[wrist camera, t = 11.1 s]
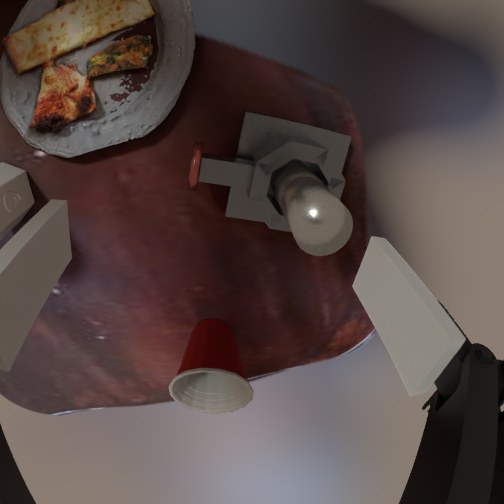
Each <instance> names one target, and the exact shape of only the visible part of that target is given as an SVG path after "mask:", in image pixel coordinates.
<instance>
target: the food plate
mask: <svg viewBox="0 0 504 504" xmlns="http://www.w3.org/2000/svg"><path fill="white" fill-rule="evenodd" d="M146 20H148V21H151V22H154V23H155V24H156V32H157V40H158V45H159V52H158V55H157V62H155V64H154V65H155V68H154V69H153V70H152V71H151V73H150V76H151V77H150V80H148V82H147V83H145V85H143V83H142V84H140V85H141V86H142V88H143V89H142V90H141V91H140V92H138V91H135V92H132V93H133V94H132V93H131V94H130V96H128V97H127V99H126V100H128V101H131V102H129V103H128V102H127V101H125V99H123V100H122V101H121V102H123V101H124V102H125V103H124V104H123V105H121V106H120V107H119V105H120V104H121V102H118V101H116V102H114V100H112V99H111V97H110V96H109V94H110V95H112V94H114V93H119V94H123V93H124V92H125V93H128V94H129V93H130V92H128V90H126V89H125V87H126V85H125V86H121V87H119V85H120V84H121V83H122V82H123V80H121V79H125V76H126V75H125V74H124V73H123V72H127V71H129V70H131V69H137V68H144V69H148V66H147V63H148V58H149V57H150V56H151V55H152V47H153V45H152V44H150V43H151V38H152V37H151V36H141V35H135V36H131V37H130V38H126V40H124V37H123V38H122V39H121V41H119V40H117V41H116V42H115V41H111V40H113V39H114V38H115V37H117V36H118V35H120V34H121V33H123V32H126V30H127V31H128V30H132V29H133V27H136V26H138V25H140V24H142V23H146ZM195 37H196V36H195V28H194V23H193V15H192V10H191V4H190V0H28V1H27V3H26V4H25V5H24V6H23V8H22V10H21V11H20V13H19V15H18V17H17V19H16V20H15V22H14V23H13V25H12V26H11V28H10V29H9V31H8V33H7V36H6V37H5V38H4V39H3V40H2V44H3V45H4V49H3V53H2V56H1V59H0V100H1V103H2V107H3V109H4V114H5V115H6V117H7V119H8V121H9V122H10V124H11V125H12V126H13V127H14V129H15V130H16V131H17V133H18V134H19V135H20V136H21V138H22V139H23V140H24V141H25V142H26V144H27V145H29V146H31V147H33V148H35V149H37V148H39V150H42V151H44V152H46V154H52V155H54V156H57V157H58V156H59V157H65V158H71V157H75V156H77V155H81V154H84V153H87V152H90V151H94V150H97V149H101V148H104V147H107V146H111V145H114V144H115V145H116V144H119V143H122V142H125V141H128V140H129V139H132V140H133V139H134V138H136V139H137V138H138V137H139V138H141V137H144V136H146V135H147V134H148V133H149V132H151V131H153V130H154V129H155V128H156V127H157V126H158V125H159V124H161V123H162V121H163V120H164V119H165V118H166V117H167V116H168V114H169V112H170V111H171V109H172V108H173V107H174V106H175V104H176V100H178V97H179V95H180V92H181V89H182V87H183V86H184V84H185V81H186V79H187V76H189V74H190V70H191V66H192V61H193V56H194V50H195V45H196V43H195ZM109 39H110V40H109ZM123 40H124V41H123ZM64 63H65V65H63V64H64ZM130 75H131V74H129V76H130ZM127 76H128V75H127ZM145 77H146V78H147V75H145ZM127 79H129V78H127ZM127 79H126V80H127ZM129 82H130V83H132V82H131V81H129ZM138 82H139V81H138ZM134 84H135V83H134ZM127 87H128V88H129V85H128V86H127ZM132 89H133V87H132ZM117 96H118V95H117ZM105 101H108V103H107V105H105V103H104V102H105ZM113 103H114V104H113ZM115 107H116V108H115ZM113 108H114V109H113ZM100 109H101V110H100ZM116 109H118V110H117V112H113V113H111V111H115V110H116ZM93 118H94V119H93ZM37 150H38V149H37Z"/></svg>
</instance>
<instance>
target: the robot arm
mask: <svg viewBox="0 0 504 504" xmlns="http://www.w3.org/2000/svg"><path fill="white" fill-rule="evenodd" d="M71 259H72V252H71V244H70V234H69V222H68V209H67V201H66V200H51V201H49V202H48V203H47V204H46V205H45V206H44V207H43V208H42V209H41V210H40V211H39V212H38V213H37V214H36V215H34V216H33V217H32V218H31V219H30V220H29V221H28V222H27V223H26V224H25V225H24V226H23V227H22V228H21V229H20V230H19V231H18V232H17V233H16V234H15V235H14V236H13V237H12V238H11V239H10V240H9V242H8V243H7V244H6V245H5V246H4V247H3V248H2V249H1V250H0V369H1V370H4V371H7V372H9V371H10V369H11V367H12V365H13V363H14V361H15V358H16V356H17V354H18V352H19V350H20V348H21V346H22V344H23V342H24V340H25V338H26V336H27V334H28V332H29V331H30V329H31V327H32V325H33V323H34V321H35V319H36V317H37V316H38V314H39V312H40V310H41V308H42V307H43V305H44V303H45V301H46V300H47V298H48V296H49V295H50V293H51V291H52V290H53V288H54V286H55V285H56V283H57V281H58V280H59V278H60V276H61V275H62V273H63V272H64V270H65V268H66V267H67V265H68V264H69V262H70V261H71ZM352 287H353V289H354V291H355V292H356V294H357V296H358V298H359V299H360V301H361V303H362V305H363V307H364V308H365V310H366V312H367V314H368V316H369V318H370V319H371V321H372V323H373V325H374V327H375V329H376V331H377V333H378V334H379V336H380V338H381V340H382V342H383V344H384V346H385V348H386V350H387V351H388V354H389V356H390V357H391V359H392V361H393V363H394V365H395V367H396V369H397V371H398V373H399V375H400V377H401V379H402V381H403V383H404V385H405V388H406V390H407V392H408V394H409V396H416V395H421V394H425V393H426V392H427V391H428V390H429V388H430V387H431V386H432V385H433V384H434V383H435V385H436V387H437V388H438V389H437V390H436V392H435V393H434V394H433V395H432V396H431V397H430V399H429V400H428V401H427V402H426V403H425V404H424V406H423V407H422V409H423V410H424V409H425V408H426V407H427V406H428V405H430V409H429V410H428V412H429V413H428V417H427V421H426V425H425V429H424V432H423V436H422V439H421V443H420V446H419V449H418V452H417V456H416V459H415V462H414V465H413V468H412V471H411V473H410V476H409V479H408V482H407V485H406V487H405V490H404V492H403V495H402V497H401V500H400V502H399V504H504V411H503V412H501V409H500V407H501V406H502V405H503V403H504V360H503V361H502V360H497V359H496V357H495V356H494V354H493V353H492V352H491V351H490V350H489V349H488V348H487V347H485V346H484V345H481V344H479V343H474V344H471V343H470V341H469V340H468V338H467V337H466V335H465V334H464V333H463V331H462V330H461V329H460V327H459V326H458V325H457V323H456V322H455V321H454V319H453V318H452V316H451V315H450V314H449V312H448V311H447V310H446V309H445V308H444V306H443V305H442V304H441V303H440V302H439V301H438V300H437V299H436V298H435V297H434V296H433V295H432V293H431V292H430V291H429V290H428V288H427V287H426V286H425V285H424V283H423V282H422V281H421V280H420V279H419V277H418V276H417V275H416V274H415V272H414V271H413V270H412V269H411V267H410V266H409V265H408V264H407V263H406V262H405V260H404V259H403V258H402V257H401V256H400V255H399V253H398V252H397V251H396V250H395V249H394V248H393V246H392V245H391V244H390V243H389V242H388V241H387V240H386V239H385V238H380V237H374V236H371V239H370V242H369V244H368V247H367V250H366V252H365V255H364V258H363V260H362V263H361V265H360V268H359V270H358V273H357V275H356V278H355V280H354V283H353V285H352ZM0 504H36V503H35V501H34V499H33V497H32V495H31V494H30V491H29V490H28V488H27V486H26V484H25V482H24V480H23V477H22V475H21V473H20V471H19V469H18V467H17V465H16V462H15V460H14V458H13V455H12V453H11V451H10V448H9V446H8V443H7V441H6V438H5V436H4V433H3V431H2V428H1V424H0Z"/></svg>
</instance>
